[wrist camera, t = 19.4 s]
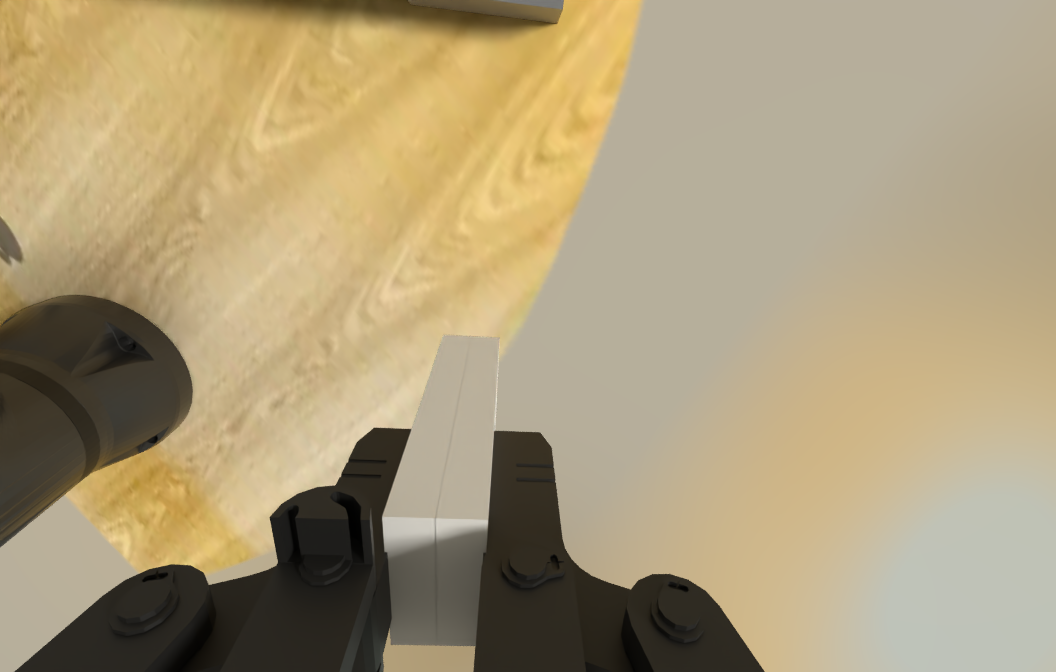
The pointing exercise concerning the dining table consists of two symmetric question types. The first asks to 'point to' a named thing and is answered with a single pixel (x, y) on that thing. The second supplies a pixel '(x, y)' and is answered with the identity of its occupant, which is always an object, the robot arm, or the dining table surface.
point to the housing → (502, 8)
